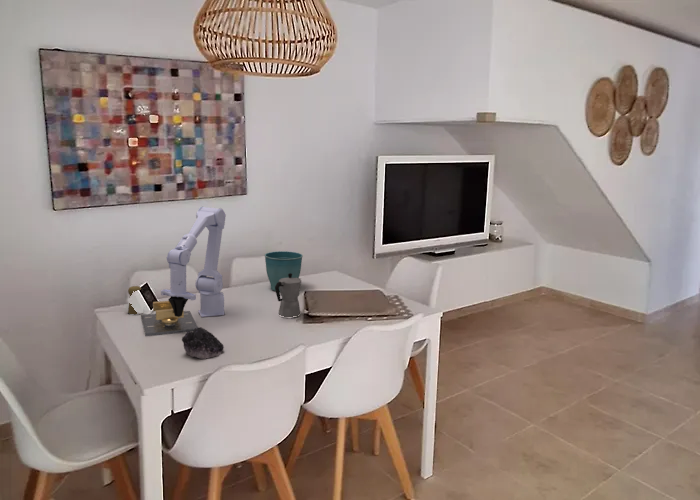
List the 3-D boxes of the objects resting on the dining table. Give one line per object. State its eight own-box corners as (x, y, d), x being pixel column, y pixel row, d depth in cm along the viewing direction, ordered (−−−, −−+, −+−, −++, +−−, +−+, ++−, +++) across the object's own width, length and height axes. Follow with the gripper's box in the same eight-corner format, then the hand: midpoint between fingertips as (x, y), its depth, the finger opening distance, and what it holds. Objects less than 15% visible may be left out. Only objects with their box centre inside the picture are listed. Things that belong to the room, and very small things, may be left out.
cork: (138, 315, 230) (137, 289, 228) (124, 314, 231) (123, 287, 229) (146, 311, 236) (145, 285, 234) (133, 309, 237) (132, 284, 235)
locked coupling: (152, 312, 228) (152, 299, 227) (178, 309, 232) (178, 297, 231) (154, 316, 223) (153, 304, 222) (180, 314, 227) (180, 302, 226)
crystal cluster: (225, 346, 203) (223, 319, 202) (222, 358, 190) (220, 329, 189) (187, 350, 202) (184, 322, 200) (181, 362, 188) (178, 333, 187)
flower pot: (265, 283, 284) (265, 250, 280) (301, 284, 286) (302, 251, 282) (263, 294, 266) (263, 258, 263) (302, 294, 268) (303, 259, 265)
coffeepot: (291, 309, 246) (292, 268, 242) (308, 313, 241) (309, 272, 237) (266, 317, 233) (266, 275, 230) (283, 322, 228) (284, 279, 224)
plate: (189, 313, 235) (189, 308, 235) (198, 330, 216) (198, 326, 215) (140, 317, 228) (140, 313, 227) (145, 336, 208) (145, 331, 208)
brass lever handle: (155, 320, 218) (154, 308, 217) (182, 318, 222) (182, 305, 221) (157, 326, 213) (156, 312, 212) (184, 323, 217) (184, 310, 216)
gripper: (155, 280, 212) (155, 315, 215) (187, 285, 207) (187, 321, 210) (167, 276, 219) (167, 311, 221) (199, 281, 214) (199, 316, 216)
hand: (178, 315), depth 216 cm, fingers closed
